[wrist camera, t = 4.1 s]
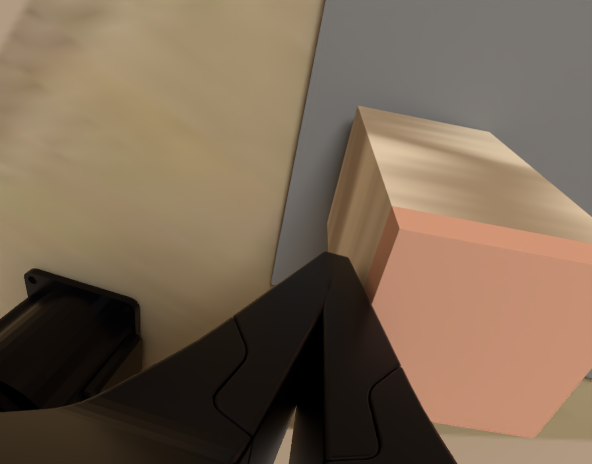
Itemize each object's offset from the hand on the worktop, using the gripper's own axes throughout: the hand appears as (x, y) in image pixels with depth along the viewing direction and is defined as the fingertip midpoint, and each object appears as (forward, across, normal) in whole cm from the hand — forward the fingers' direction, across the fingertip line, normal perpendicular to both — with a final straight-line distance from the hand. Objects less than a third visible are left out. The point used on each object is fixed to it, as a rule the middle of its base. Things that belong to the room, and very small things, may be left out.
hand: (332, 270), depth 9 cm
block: (+7, -2, 0) cm, 7 cm away
